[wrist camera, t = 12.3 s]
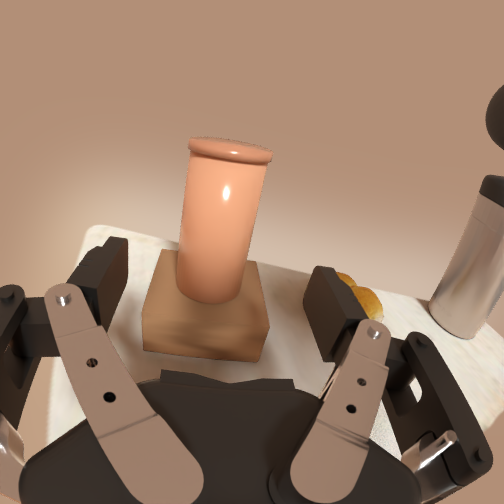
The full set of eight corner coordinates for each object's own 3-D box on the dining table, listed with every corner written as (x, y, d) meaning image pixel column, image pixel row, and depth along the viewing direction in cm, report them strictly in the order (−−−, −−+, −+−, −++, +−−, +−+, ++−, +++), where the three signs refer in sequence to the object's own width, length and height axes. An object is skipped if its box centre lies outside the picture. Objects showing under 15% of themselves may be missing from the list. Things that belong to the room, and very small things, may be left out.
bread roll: (329, 283, 36) (340, 255, 34) (384, 324, 30) (400, 296, 28) (284, 300, 31) (294, 268, 29) (346, 353, 25) (364, 321, 23)
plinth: (247, 294, 30) (255, 261, 28) (257, 362, 22) (269, 326, 20) (159, 283, 28) (162, 248, 26) (143, 349, 20) (141, 312, 19)
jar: (240, 269, 26) (266, 146, 21) (245, 309, 21) (280, 158, 16) (178, 261, 25) (193, 134, 20) (169, 300, 20) (184, 142, 15)
